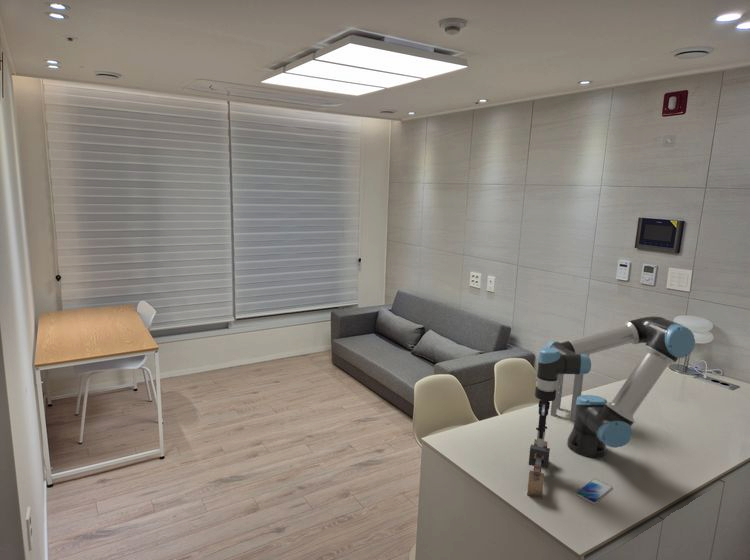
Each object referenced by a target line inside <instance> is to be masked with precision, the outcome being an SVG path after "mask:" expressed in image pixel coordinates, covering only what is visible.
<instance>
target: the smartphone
mask: <svg viewBox="0 0 750 560" xmlns="http://www.w3.org/2000/svg"><path fill="white" fill-rule="evenodd" d="M612 490H613V486H612V485H610V484H607V483H606V482H604V481H601V480H599V479H597V478H593V479H590V481H589V482H588V483H586V484H585V485H583V486H582V487H581V488H580V489H578V491H576V492H575V495H576V496H578V497H580V498H582V499H583V500H586V501H587V502H590V503H591V504H594V505H595V504H597V503H598V502H599V501H600V500H601V499H602V498H604V497H605V496H606V495H607V494H608V493H610V491H612Z"/></svg>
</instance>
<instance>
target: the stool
mask: <svg viewBox="0 0 750 560" xmlns="http://www.w3.org/2000/svg"><path fill="white" fill-rule="evenodd" d="M559 342H560V343H562V342H563V341H559ZM587 356H588V357H589V358H590V354H589V355H587ZM564 375H565V374H558V381H557V389H556V398H555V400H554V401H551V405H550V414H549V415H550V416H552V417H556V416H557V413H558V409H559V410H560V409H561V404H562V402H561V401H562V395H563V386H564V385H563V384H564ZM573 378H574V379H573V387H572V388H573V390H572V397H571V405H570V415H569V421H570V422H574V419H575V410H576V401H577V398H578V397H579V396H581V395H582V392H583V391H582V390H583V382H584V374H580V375H578V374H574V377H573Z"/></svg>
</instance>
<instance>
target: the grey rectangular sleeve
mask: <svg viewBox="0 0 750 560" xmlns="http://www.w3.org/2000/svg"><path fill="white" fill-rule="evenodd" d="M550 451H551V448H549V447H547V448H545V447H540V446H536V445H534V444H530V447H529V458H528V466H533V467H534V465H535V462H536V458H534V456H535V454H540V455H544V460H542V461H541V467H542V468H541V469H545V470H548V469H549V461H550Z"/></svg>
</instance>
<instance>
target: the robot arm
mask: <svg viewBox="0 0 750 560" xmlns="http://www.w3.org/2000/svg"><path fill="white" fill-rule="evenodd" d="M560 342H562V343H560ZM628 344H632V345H638V344H645V345H644V348H645V352H644V354H643V355H642V357H641V358H640V360H639V362H638V363H637V364H636V365H635V366H634V368H633V370H632V372H631V373H630V374H629V376H628V377H627V379H626V381H625V382H624V383H623V384H622V386H621V388H620V389H619V390H618V392H617V394H616V395H615V396H614V398H613V400H611V402H608V400H607V399H606V398H604V397H601V396H598V395H593V394H581V396H579V397H578V398H577V401H576V410H575V419H574V421H573V428H572V430H571V432H570V433H569V436H568V438H567V442H566V443H567V444H566V445H567V447H568V448H569V449H570V450H571V451H572V452H574V453H576V454H578V455H581V456H584V457H588V458H589V457H591V458H600V457H601V458H602V457H603V456H605V455H606V453H607V447H610V448H614V449H615V448H620V447H621V448H622V447H624V446H625V445H627V444H628V443H629V442H630V441H631V440H632V437H633V435H634V434H633V428H632V426H633V424H634V423H635V419H634V415H635V413H636V412H637V410H638V409H639V407H640V406H641V405H642V403H643V402H644V400H645V399H646V397H647V396H648V394H649V393H650V392H651V390H652V388H653V387H654V385H656V383H657V381H658V380H659V379H660V377H661V376H662V374H663V373H664V371H665V370H666V369H667V367H668V366H669V365H670V364H676V362H677V361H678V359H683V358H685V357H688V356H689V355H691V354H692V353H693V351H694V348H695V346H696V339H695V335H694V333H693V331H692V330H691V329H689V328H688V327H686V326H685V325H683V324H681V323H677V322H674V321H672V320H669V319H666V318H664V317H662V316H645V317H641V318H635V319H632V320H628V321H626V322H624V324H623V325H620V326H616V327H613V328H610V329H609V328H608V329H606V330H603V331H598V332H595V333H592V334H591V333H590V334H588V335H584V336H581V337H578V338H577V337H576V338H574V339H570V340H566V341H556V340H552V341H549V342H548V343H547V344H546V346H545V347H542V348H541V349H540V350H539V353H538V358H537V361H538V362H537V371H536V377H535V378H534V381H535V386H536V387H535V390H534V397H535V398H536V399H538V400H539V401H538V414H539V417H538V424H537V425H538V427H536V428H535V430H536V431H537V435H536V439H537V443H536V445H539V446H544V441H545V438H546V436H545V435H546V430H548V426H546V425H547V416H548V415H549V409H550V407H551V405H550V403H551V402H552V401H554V400H555V398H556V389H557V381H558V374H564V375H575V374H578V375H580V374H583V375H587V374H589V373H590V371H591V369H592V361H591V358H590V355H591V354H592V355H593V354H595V353H599V352H603V351H606V350H610V349H614V348H617V347H621V346H624V345H628ZM587 355H589V357H588V356H587Z"/></svg>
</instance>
